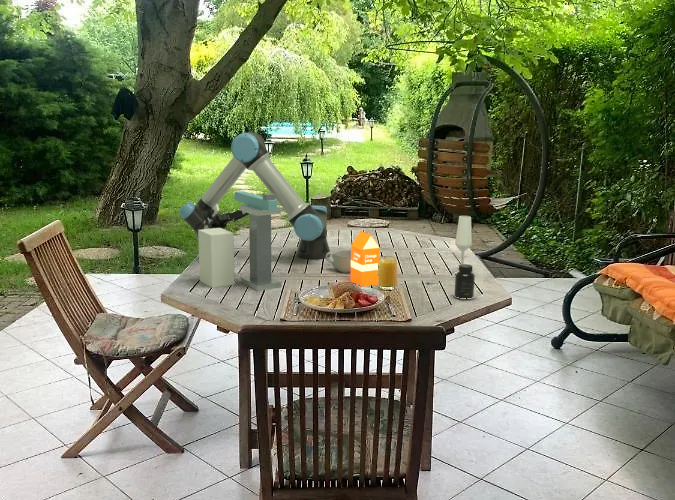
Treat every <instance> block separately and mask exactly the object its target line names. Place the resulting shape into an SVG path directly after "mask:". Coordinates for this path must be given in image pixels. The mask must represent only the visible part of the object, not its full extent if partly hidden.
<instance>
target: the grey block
mask: <svg viewBox="0 0 675 500" xmlns="http://www.w3.org/2000/svg"><path fill="white" fill-rule="evenodd" d="M234 236H235V235H234V232H232V231H230V230H227V229H226V228H225V229H222V228H212V229H202V230H198V238H199V241H198V265H199V267H198V268H199V269H198V270H199V271H198V272H199V281H200V282H201V283H204V284H205V285H207V286H208V287H210V288H212V289H213V288H221V287H227V286H234V285H235V249H234V248H235V243H234V241H235V240H234V239H235V238H234Z"/></svg>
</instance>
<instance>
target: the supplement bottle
mask: <svg viewBox="0 0 675 500" xmlns="http://www.w3.org/2000/svg"><path fill="white" fill-rule="evenodd" d="M458 270H459V272H457V273H456V275H454V276H455V277H454V279H455V280H454V295H455V296H456V297H459V298H472V297H473V298H474V294H475V293H474V292H475V278H476V277H475V274H474V273H473V265H471V264H468V263H467V264H466V263H464V264H461V263H460V264H459V265H458ZM455 296H454V297H455ZM473 298H472V299H473Z"/></svg>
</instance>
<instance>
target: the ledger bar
mask: <svg viewBox="0 0 675 500" xmlns="http://www.w3.org/2000/svg"><path fill="white" fill-rule="evenodd" d="M234 201H235V202H237V203H242V204H243V205H245V204H247V205H251V206H254V207H257V208H261V209H264V210H267V211H274V210H277V207H278V201H277V200H276V199H275V194H271V193H263V194H262V195H258V194H254V193H252V192H251V193H250V192H246V191H244V190H242V191H241V190H240V191H234Z"/></svg>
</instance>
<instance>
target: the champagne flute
mask: <svg viewBox="0 0 675 500" xmlns="http://www.w3.org/2000/svg"><path fill="white" fill-rule="evenodd" d="M457 222H458V223H457V230H456V236H455V242H454V244H455V246H456V247H457V249H458V250H459V251H460V252H461V253H460V265H461V264H465V252H466V251H467V250H468V249H470V248H471V246H472V245H473V238H472V237H473V235H472V217H471V216H469V215H459V216H458V221H457ZM457 272H459V269H458V270H457V271H455V272H454V273H457Z"/></svg>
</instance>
